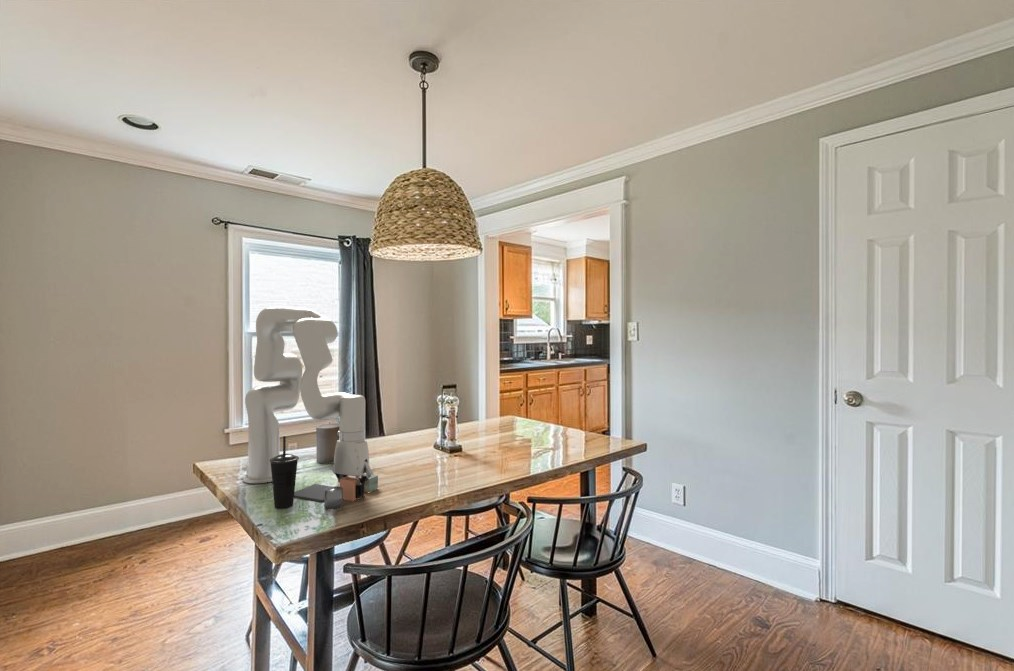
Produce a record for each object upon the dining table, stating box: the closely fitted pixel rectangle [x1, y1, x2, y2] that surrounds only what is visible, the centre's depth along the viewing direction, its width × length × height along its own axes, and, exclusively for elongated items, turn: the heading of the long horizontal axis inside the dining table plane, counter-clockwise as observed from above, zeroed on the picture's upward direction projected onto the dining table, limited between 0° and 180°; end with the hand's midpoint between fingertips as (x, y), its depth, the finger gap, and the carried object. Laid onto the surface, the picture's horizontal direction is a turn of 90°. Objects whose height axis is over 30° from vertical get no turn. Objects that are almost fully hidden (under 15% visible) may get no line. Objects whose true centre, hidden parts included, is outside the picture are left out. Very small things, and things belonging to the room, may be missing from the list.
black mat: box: [294, 483, 333, 503], centre depth 150 cm, size 13×11×1 cm
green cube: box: [364, 473, 379, 493], centre depth 154 cm, size 4×4×4 cm
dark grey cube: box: [323, 485, 344, 510], centre depth 139 cm, size 5×5×5 cm
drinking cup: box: [270, 435, 300, 510], centre depth 139 cm, size 8×8×20 cm
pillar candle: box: [315, 421, 339, 465], centre depth 188 cm, size 10×10×15 cm
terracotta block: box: [339, 475, 361, 502], centre depth 147 cm, size 5×5×6 cm
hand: (352, 495), depth 147 cm, fingers closed on terracotta block, 5 cm apart
